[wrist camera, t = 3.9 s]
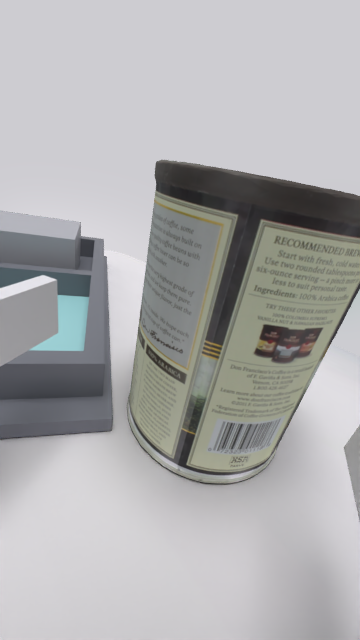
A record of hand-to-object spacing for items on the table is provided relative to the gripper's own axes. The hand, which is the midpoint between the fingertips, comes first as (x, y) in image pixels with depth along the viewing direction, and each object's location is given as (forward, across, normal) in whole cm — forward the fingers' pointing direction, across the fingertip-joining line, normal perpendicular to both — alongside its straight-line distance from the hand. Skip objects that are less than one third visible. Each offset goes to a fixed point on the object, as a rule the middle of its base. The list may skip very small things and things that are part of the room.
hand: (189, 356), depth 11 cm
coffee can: (+5, +1, -8) cm, 9 cm away
